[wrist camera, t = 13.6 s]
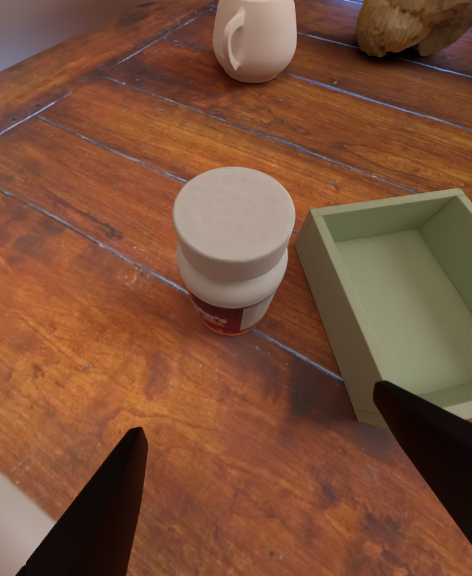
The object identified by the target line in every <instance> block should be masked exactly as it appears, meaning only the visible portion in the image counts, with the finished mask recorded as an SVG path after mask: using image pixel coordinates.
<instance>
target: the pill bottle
mask: <svg viewBox="0 0 472 576" xmlns="http://www.w3.org/2000/svg"><path fill="white" fill-rule="evenodd" d="M172 216H173V224H174V228H175V231H176V234H177V237H178V241H179V243H178V246H177V265H178V270H179V272H180V275H181V278H182V280H183V282H184V285H185V287H186V289H187V291H188V294H189V296H190V298H191V300H192V303H193V305H194V307H195V309H196V311H197V313H198V315H199V317H200V319H201V320H202V322H203V323H204V324H205V325H206V326H207V327H208V328H210V329H211V330H212V331H214V332H216V333H219V334H222V335H228V336H235V335H241V334H244V333H247V332H249V331H250V330H252V329H253V328H255V327H256V326H257V325H258V324H259V323H260V322H261V320H262V319H263V317H264V315H265V314H266V312H267V309H268V307H269V305H270V303H271V301H272V299H273V297H274V295H275V293H276V291H277V289H278V287H279V285H280V283H281V281H282V279H283V276H284V274H285V271H286V267H287V262H288V251H287V246H288V242H289V239H290V236H291V233H292V231H293V227H294V223H295V208H294V204H293V202H292V199H291V197H290V195H289V193H288V192H287V191H286V189H285V188H284V187H283V186H282V185H281V184H280V183H279V182H278V181H276V180H275V179H274V178H272V177H270V176H268V175H267V174H264V173H262V172H259V171H257V170H253V169H249V168H243V167H223V168H217V169H213V170H209V171H207V172H204V173H202V174H200V175H198V176H196V177H194V178H193V179H192V180H190V181H189V182H188V183H187V184H186V185H184V187H183V188H182V189H181V190H180V192H179V193H178V195H177V197H176V199H175V202H174V205H173V213H172Z"/></svg>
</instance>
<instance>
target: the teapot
mask: <svg viewBox="0 0 472 576" xmlns="http://www.w3.org/2000/svg"><path fill="white" fill-rule="evenodd" d="M296 41H297V34H296V15H295V5H294V0H219V3H218V8H217V13H216V19H215V25H214V32H213V49H214V52H215V55H216V58H217V60H218V62H219V63H220V65H221V66H222V67H223V68H224V70H225V72H226V73H227V74H228V75H229V76H230V77H231V78H233V79H236V80H238V81H240V82H247V83H261V82H266V81H269V80H272V79H274V78H275V77H277V76H278V75H279V73H280V72H281V71H282V70H284V69H285V68H286V67H287V65H288V64H289V63H290V61H291V60H292V58H293V55H294V52H295V49H296Z"/></svg>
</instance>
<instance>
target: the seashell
mask: <svg viewBox="0 0 472 576" xmlns="http://www.w3.org/2000/svg"><path fill="white" fill-rule="evenodd" d="M471 26H472V0H364V2H363V5H362V8H361V10H360V13H359V16H358V20H357V26H356V37H357V42H358V45H359V48H360V50H361V51H362V52H363V51H364V52H365V53H367V55H368V56H377V57H382V56H384V55H385V54H386V53H387V52H388V51H391V52H393V53H396V52H400V51H402V50H404V49H405V48H409V47H411V46H414V48H413V49H414V50H416V51H419V54H420V56H428V55H432V54H434V53H436V52H438V51H439V50H441V49H444V48H446V47H448V46H450V45H451V44H452V43H454V42H455V41H457V40H458V39H459V38H461V37H462V36H463V35H464V34H465V33H466V32H467V31H468V30H469V29H470V27H471Z"/></svg>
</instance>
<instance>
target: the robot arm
mask: <svg viewBox="0 0 472 576" xmlns="http://www.w3.org/2000/svg"><path fill="white" fill-rule="evenodd" d="M373 402H374V404H375V405H376V407H377V409H378V410H379V412H380V414H381V415H382V417H383V419H384V420H385V422H386V424H387V425H388V427H389V429H390V430H391V432H392V434H393V435H394V437H395V438H396V440H397V442H398V443H399V445H400V446H401V448H402V449H403V450H404V452H405V453H406V455H407V456H408V457H409V459H410V460H411V462H412V463H413V464H414V466H415V467H416V468H417V470H418V471H419V473H420V474H421V475H422V477H423V478H424V480H425V481H426V482H427V484H428V485H429V486H430V488H431V489H432V491H433V492H434V493H435V495H436V496H437V498H438V499H439V500H440V502H441V503H442V504H443V506H444V507H445V509H446V510H447V511H448V513H449V514H450V516H451V517H452V518H453V520H454V521H455V522H456V524H457V525H458V527H459V528H460V529H461V531H462V532H463V534H464V535H465V536H466V538H467V539H468V540H469V542H470V543H471V545H472V423H471V422H469V421H467V420H465V419H463V418H461V417H459V416H457V415H455V414H453V413H451V412H449V411H447V410H445V409H443V408H441V407H439V406H437V405H435V404H433V403H431V402H429V401H427V400H425V399H423V398H421V397H419V396H417V395H415V394H413V393H411V392H409V391H407V390H405V389H403V388H401V387H399V386H397V385H395V384H393V383H391V382H389V381H387V380H382V381H377V382H375V384H374V390H373ZM147 452H148V442H147V439H146V436H145V433H144V430H143V428H142V427H136V428H131V429H129V430H128V431H127V433H126V434H125V435H124V436H123V438H122V439H121V440H120V442H119V443H118V444H117V445H116V447H115V448H114V449H113V451H112V452H111V453H110V454H109V456H108V457H107V458H106V460H105V461H104V462H103V464H102V465H101V466H100V467H99V469H98V470H97V471H96V473H95V474H94V475H93V476H92V478H91V479H90V480H89V482H88V483H87V484H86V485H85V487H84V488H83V489H82V491H81V492H80V493H79V494H78V496H77V497H76V498H75V500H74V501H73V502H72V503H71V505H70V506H69V507H68V509H67V510H66V511H65V512H64V514H63V515H62V516H61V518H60V519H59V520H58V521H57V523H56V524H55V525H54V527H53V528H52V529H51V531H50V532H49V533H48V535H47V536H46V537H45V538H44V540H43V541H42V542H41V544H40V545H39V546H38V547H37V549H36V550H35V551H34V552H33V554H32V555H31V556H30V558H29V559H28V560H27V562H26V565H24V566H23V567H22V568H21V569H20V571H19V572H18V573H17V574H16V576H126V573H127V568H128V563H129V559H130V554H131V549H132V544H133V540H134V535H135V530H136V526H137V521H138V516H139V511H140V506H141V501H142V494H143V486H144V477H145V469H146V461H147Z"/></svg>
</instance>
